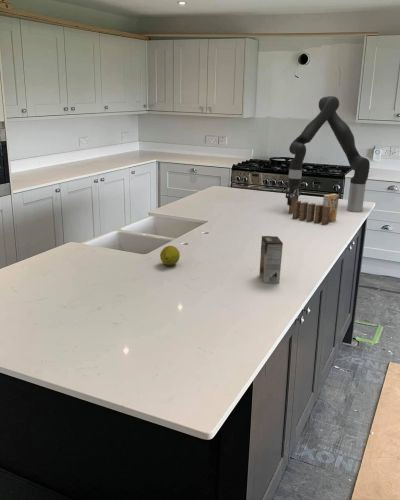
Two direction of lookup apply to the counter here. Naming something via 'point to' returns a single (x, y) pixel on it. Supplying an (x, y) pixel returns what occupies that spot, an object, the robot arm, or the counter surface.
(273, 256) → the coffee box
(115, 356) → the counter surface
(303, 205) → the domino
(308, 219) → the domino
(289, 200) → the robot arm
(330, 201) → the candy box
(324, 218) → the domino
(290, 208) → the domino
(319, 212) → the domino
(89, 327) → the counter surface
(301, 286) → the counter surface
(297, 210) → the domino
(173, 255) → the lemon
